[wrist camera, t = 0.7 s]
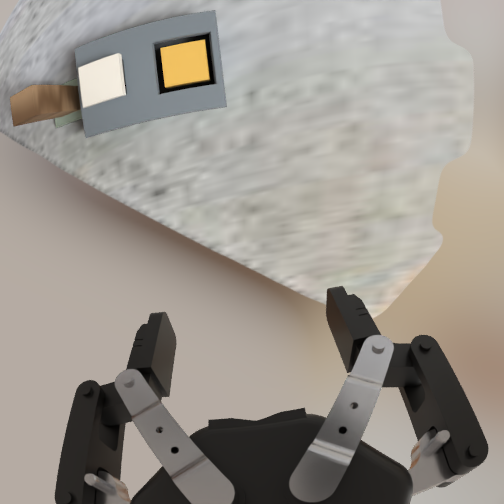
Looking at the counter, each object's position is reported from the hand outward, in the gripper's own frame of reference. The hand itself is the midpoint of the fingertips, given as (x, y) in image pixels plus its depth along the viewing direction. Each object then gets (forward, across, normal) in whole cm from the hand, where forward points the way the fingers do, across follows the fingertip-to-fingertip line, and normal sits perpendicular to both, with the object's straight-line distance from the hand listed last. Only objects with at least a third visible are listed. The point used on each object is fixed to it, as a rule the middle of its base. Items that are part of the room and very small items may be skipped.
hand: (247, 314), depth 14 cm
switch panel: (+27, +8, -15) cm, 32 cm away
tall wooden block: (+26, +20, -16) cm, 37 cm away
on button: (+23, +12, -16) cm, 31 cm away
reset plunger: (+25, +3, -15) cm, 29 cm away
